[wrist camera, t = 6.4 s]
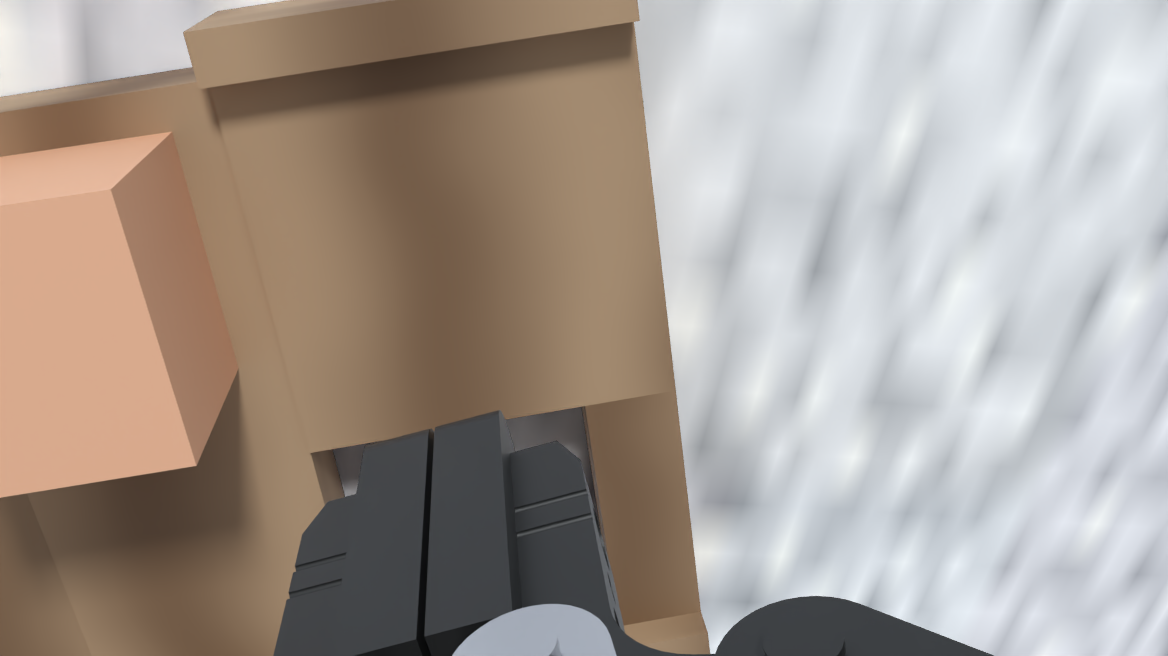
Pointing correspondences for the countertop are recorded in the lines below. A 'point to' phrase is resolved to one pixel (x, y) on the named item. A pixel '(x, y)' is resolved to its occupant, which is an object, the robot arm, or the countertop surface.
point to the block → (104, 317)
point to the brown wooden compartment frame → (375, 302)
